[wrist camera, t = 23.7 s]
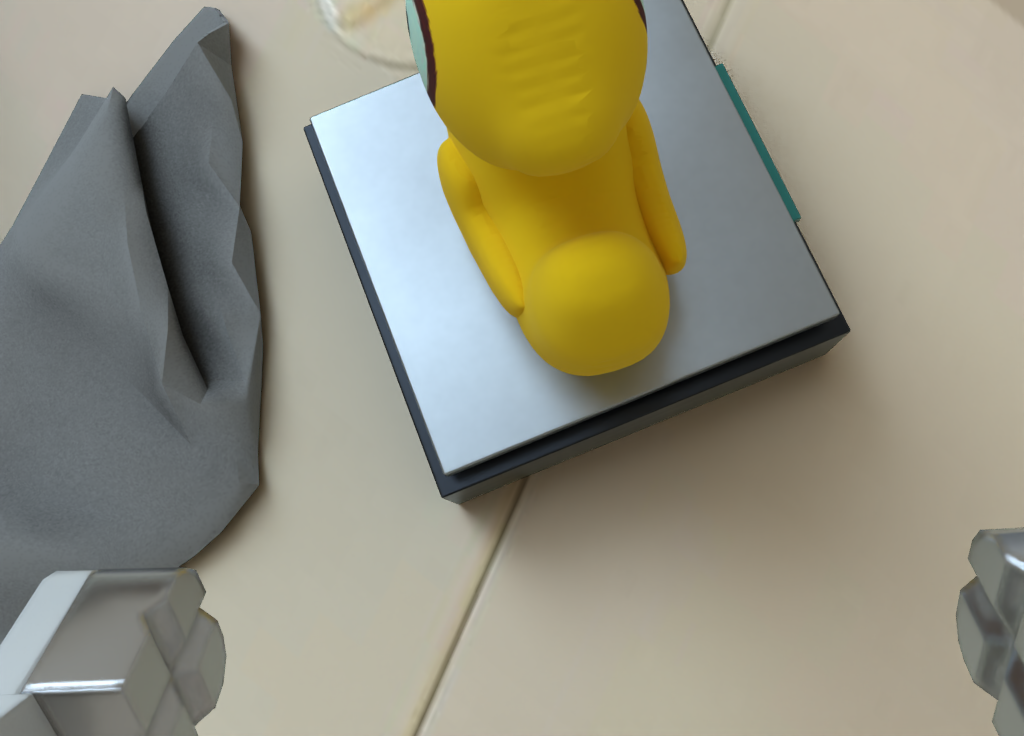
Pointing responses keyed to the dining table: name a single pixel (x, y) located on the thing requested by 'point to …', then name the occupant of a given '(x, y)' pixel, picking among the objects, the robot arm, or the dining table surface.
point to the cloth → (130, 331)
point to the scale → (497, 334)
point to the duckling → (555, 169)
